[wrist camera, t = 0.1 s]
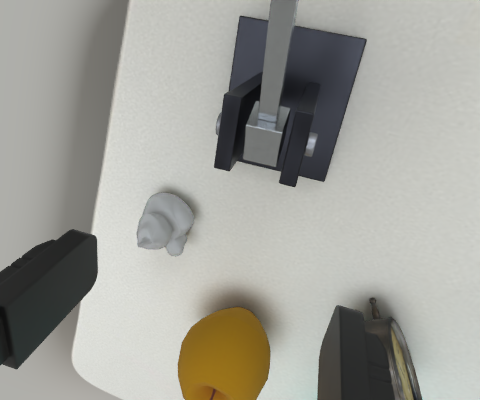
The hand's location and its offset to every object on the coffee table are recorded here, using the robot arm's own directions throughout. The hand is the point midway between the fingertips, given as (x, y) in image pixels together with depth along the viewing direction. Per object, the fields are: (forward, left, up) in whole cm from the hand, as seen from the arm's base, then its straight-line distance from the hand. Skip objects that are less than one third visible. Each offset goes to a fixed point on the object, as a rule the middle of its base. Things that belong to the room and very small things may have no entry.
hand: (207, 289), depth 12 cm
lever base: (-2, 0, -24) cm, 24 cm away
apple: (+24, 0, -24) cm, 34 cm away
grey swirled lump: (+12, -9, -24) cm, 28 cm away
